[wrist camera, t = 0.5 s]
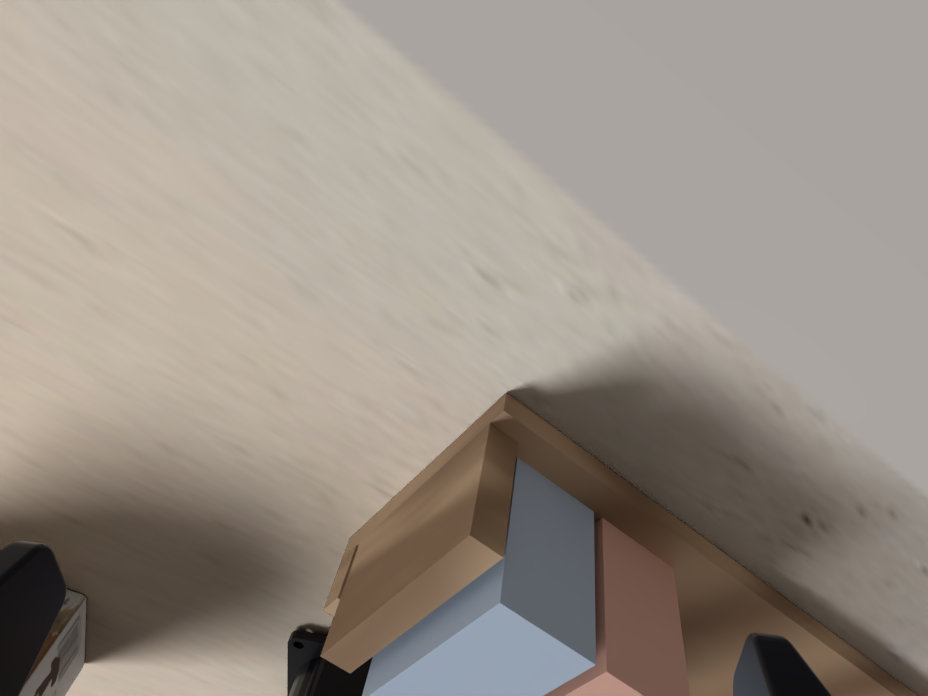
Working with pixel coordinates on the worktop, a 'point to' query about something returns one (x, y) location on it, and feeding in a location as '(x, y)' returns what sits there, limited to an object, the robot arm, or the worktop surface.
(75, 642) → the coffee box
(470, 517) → the wooden book rack
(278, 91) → the worktop surface
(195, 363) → the worktop surface
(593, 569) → the book blue
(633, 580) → the book brick
